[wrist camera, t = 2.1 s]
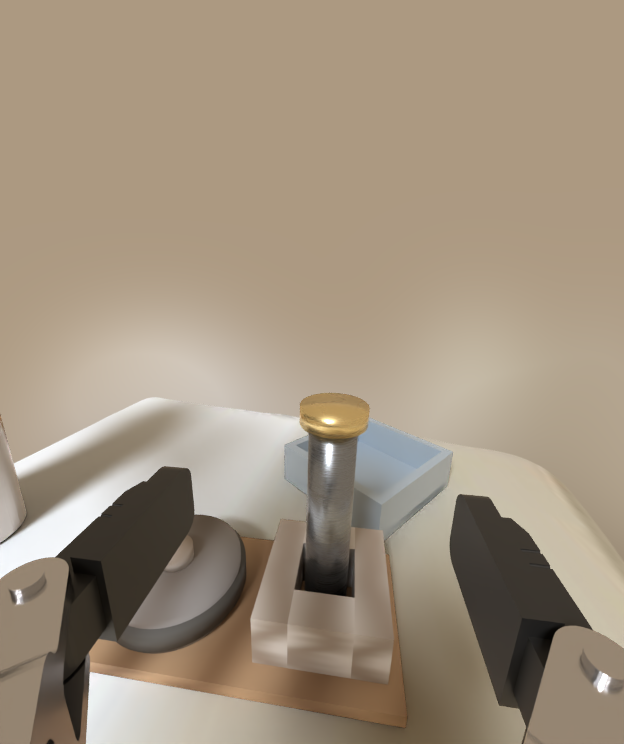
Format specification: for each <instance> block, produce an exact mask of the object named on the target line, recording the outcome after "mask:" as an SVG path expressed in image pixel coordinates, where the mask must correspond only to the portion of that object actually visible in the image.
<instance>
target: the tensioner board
mask: <svg viewBox="0 0 624 744" xmlns="http://www.w3.org/2000/svg"><path fill="white" fill-rule="evenodd" d="M305 562H306V522H303V521H295V520H286V519H281V520H280V523H279V527H278V530H277V533H276V536H275V540H274V541H272V540H264V539H255V538H247V537H240V536H239V534H238V533H237V532H236V531H235V530H234V529H233V528H232V527H231V526H230V525H228V524H227V523H226V522H224V521H222V520H220V519H218V518H215V517H212V516H206V515H194V519H193V523H192V526H191V529H190V531H189V533H188V534H187V536H186V537H185V539H184V540H183V542H182V543H181V545H180V546H179V548H178V550H177V551H176V553H175V554H174V556H173V557H172V559H171V560H170V562H169V563H168V565H167V566H166V568H165V569H164V571H163V573H162V574H161V576H160V577H159V579H158V580H157V582H156V583H155V585H154V586H153V588H152V589H151V591H150V592H149V594H148V595H147V597H146V599H145V600H144V602H143V603H142V605H141V606H140V608H139V609H138V611H137V612H136V614H135V615H134V617H133V618H132V620H131V622H130V623H129V625H128V626H127V628H126V629H125V631H124V632H123V634H122V635H121V637H120V638H119V640H118V641H117V642H114V641H108V640H102V639H98V640H97V641H96V643H95V644H94V646H93V647H92V649H91V650H90V651H89V655H90V672H94V673H100V674H106V675H111V676H117V677H122V678H128V679H134V680H139V681H145V682H151V683H156V684H162V685H167V686H173V687H179V688H184V689H190V690H195V691H201V692H207V693H212V694H218V695H223V696H229V697H235V698H240V699H246V700H251V701H257V702H263V703H268V704H274V705H279V706H285V707H291V708H296V709H302V710H307V711H313V712H319V713H324V714H330V715H335V716H341V717H347V718H352V719H358V720H363V721H369V722H375V723H380V724H386V725H391V726H397V727H403V728H406V723H407V710H406V701H405V692H404V683H403V675H402V666H401V657H400V648H399V640H398V631H397V622H396V613H395V605H394V596H393V587H392V578H391V570H390V561H389V555H387V554H385V546H384V536H383V530H374V529H365V528H356V527H351V537H350V550H349V564H348V578H347V592H346V597H345V596H338V595H330V594H323V593H316V592H309V591H305Z"/></svg>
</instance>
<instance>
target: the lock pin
mask: <svg viewBox="0 0 624 744" xmlns="http://www.w3.org/2000/svg"><path fill="white" fill-rule="evenodd" d="M368 422H369V405H368V404H367V403H366V402H365V401H363V400H362V399H360V398H358V397H355V396H351V395H347V394H340V393H321V394H315V395H311V396H308V397H306V398H305V399H303V400H302V401H301V403H300V425H301V427H302V428H303V429H304V430H305V431H307V432H308V433H309V441H308V481H307V522H306V562H305V591H309V592H316V593H323V594H330V595H338V596H345V597H346V592H347V578H348V564H349V550H350V537H351V523H352V509H353V495H354V482H355V468H356V454H357V441H358V436H359V435H361V434H363V433H364V432H365V431H366V430H367V428H368Z"/></svg>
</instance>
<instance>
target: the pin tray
mask: <svg viewBox="0 0 624 744" xmlns="http://www.w3.org/2000/svg"><path fill="white" fill-rule="evenodd" d="M308 441H309V435H307V436H305V437H302V438H300V439H297V440H295V441H293V442H290V443H288V444H285V479H286V480H287V481H289V482H290V483H291V484H293V485H294V486H295V487H297V488H298V489H300V490H301V491H302V492H304V493H305V494H306V495H307V481H308ZM452 456H453V452H452V451H450V450H447V449H445V448H442V447H440V446H437V445H435V444H432V443H430V442H428V441H425V440H423V439H420V438H418V437H415V436H413V435H411V434H408V433H406V432H403V431H401V430H398V429H396V428H393V427H391V426H388V425H386V424H384V423H381V422H379V421H376V420H374V419H372V418H369V422H368V428H367V430H366V431H365V432H364V433H363V434H361V435H359V436H358V441H357V454H356V468H355V482H354V495H353V509H352V523H351V527H356V528H365V529H374V530H383V536H384V540H386V539H387V538H388V537H389V536H390V535H391V534H393V533H394V532H395V531H396V530H397V529H398V528H399V527H401V526H402V525H403V524H404V523H405V522H406V521H408V520H409V519H410V518H411V517H412V516H413V515H414V514H416V513H417V512H418V511H419V510H420V509H421V508H423V507H424V506H425V505H426V504H427V503H428V502H430V501H431V500H432V499H433V498H434V497H435V496H436V495H438V494H439V493H440V492H441V491H442V490H443V489H445V488H446V487H447V485H448V479H449V473H450V468H451V462H452Z"/></svg>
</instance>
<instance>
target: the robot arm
mask: <svg viewBox="0 0 624 744" xmlns="http://www.w3.org/2000/svg"><path fill="white" fill-rule="evenodd" d="M26 514H27V513H26V508H25V505H24V501H23V497H22V493H21V490H20V486H19V482H18V478H17V474H16V470H15V467H14V463H13V459H12V456H11V452H10V448H9V445H8V441H7V437H6V434H5V430H4V426H3V422H2V419H1V415H0V542H2V541H4V540H5V539H6V538H8V537H9V536H10V535H11V534H13V533H14V532H15V531H16V530H17V529H18V528H19V527H20V526H21V524H22V523H23V521H24V520H25V517H26ZM193 519H194V501H193V491H192V480H191V473H190V471H189V469H187V468H177V467H166V466H164V467H161V468H160V469H159V470H158V471H157V472H156V473H155V474H154V475H153V476H152V477H151V478H150V479H149V480H148V481H147V482H145V481H143V482H141V483H139V484H138V485H136V486H134V487H132V488H130V489H129V490H127V491H125V492H124V493H123V494H122V495H121V496H120V497H119V498H118V499H117V500H116V501H115V502H114V503H113V505H112V506H109V507H108V508H107V509H106V510H105V511H104V512H103V513H102V515H101V517H98V518H97V519H95V520H94V521H93V522H92V523H91V524H90V525H89V526H88V527H87V528H86V529H85V530H84V531H83V532H82V533H80V534H79V535H78V536H77V537H76V538H75V539H74V540H73V541H72V542H71V543H70V544H69V545H68V546H67V547H66V548H64V549H63V550H62V551H61V552H60V553H59V554H58V555H57V556H56V557H55V558H54V557H50V558H42V559H38V560H34V561H32V562H29V563H26V564H24V565H22V566H20V567H18V568H16V569H14V570H13V571H11V572H9V573H8V574H6V575H5V576H4V577H2V578H1V579H0V744H86V729H87V710H88V692H89V674H90V655H89V651H90V650H91V649H92V647H93V646H94V644H95V643H96V641H97V640H98V639H102V640H108V641H114V642H117V641H118V640H119V638H120V637H121V635H122V634H123V632H124V631H125V629H126V628H127V626H128V625H129V623H130V622H131V620H132V618H133V617H134V615H135V614H136V612H137V611H138V609H139V608H140V606H141V605H142V603H143V602H144V600H145V599H146V597H147V595H148V594H149V592H150V591H151V589H152V588H153V586H154V585H155V583H156V582H157V580H158V579H159V577H160V576H161V574H162V573H163V571H164V569H165V568H166V566H167V565H168V563H169V562H170V560H171V559H172V557H173V556H174V554H175V553H176V551H177V550H178V548H179V546H180V545H181V543H182V542H183V540H184V539H185V537H186V536H187V534H188V533H189V531H190V529H191V526H192V523H193ZM450 555H451V561H452V565H453V568H454V571H455V574H456V577H457V580H458V583H459V586H460V589H461V592H462V595H463V598H464V601H465V604H466V607H467V610H468V613H469V616H470V619H471V622H472V625H473V628H474V631H475V634H476V637H477V640H478V643H479V646H480V649H481V652H482V655H483V658H484V661H485V664H486V667H487V670H488V673H489V676H490V679H491V682H492V685H493V688H494V691H495V694H496V697H497V700H498V703H499V705H500V706H506V707H512V708H518V709H520V711H521V714H522V717H523V719H524V722H525V725H526V730H525V733H524V736H523V740H522V743H521V744H624V648H622V647H621V646H619V645H618V644H617V643H615V642H614V641H612V640H611V639H609V638H607V637H606V636H604V635H602V634H600V633H598V632H595V631H593V629H592V628H591V626H590V625H589V623H588V622H587V620H586V619H585V617H584V616H583V614H582V613H581V611H580V610H579V608H578V607H577V605H576V604H575V602H574V601H573V599H572V598H571V596H570V595H569V593H568V592H567V590H566V589H565V587H564V586H563V584H562V583H561V581H560V580H559V578H558V577H557V575H556V574H555V572H554V571H553V569H550V565H549V563H548V562H547V560H546V559H545V557H544V556H543V554H540V550H539V548H538V547H537V545H536V544H535V542H534V541H533V539H532V538H531V536H530V535H529V533H528V532H526V531H525V530H524V529H523V528H522V527H520V526H519V525H518V524H517V523H516V522H515V521H513V520H512V519H511V518H503V517H501V516H500V514H499V512H498V511H497V509H496V507H495V506H494V504H493V502H492V501H491V499H490V498H489V497H484V496H473V495H462V494H460V495H458V497H457V500H456V505H455V511H454V518H453V524H452V530H451V536H450Z"/></svg>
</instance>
